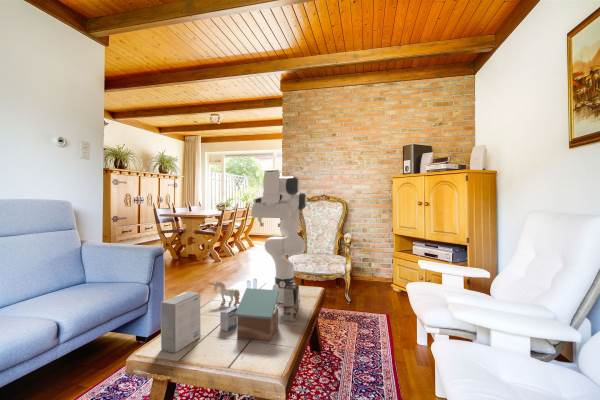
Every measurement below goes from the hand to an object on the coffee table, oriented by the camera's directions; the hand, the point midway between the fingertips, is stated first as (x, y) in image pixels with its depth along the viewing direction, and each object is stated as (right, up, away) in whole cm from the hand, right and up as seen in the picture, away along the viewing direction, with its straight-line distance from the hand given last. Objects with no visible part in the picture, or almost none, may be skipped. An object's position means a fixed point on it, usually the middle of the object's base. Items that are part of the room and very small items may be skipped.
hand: (270, 226), depth 151 cm
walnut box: (-4, -48, -16) cm, 51 cm away
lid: (-4, -34, -17) cm, 38 cm away
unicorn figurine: (-29, -48, +18) cm, 59 cm away
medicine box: (-19, -48, -10) cm, 53 cm away
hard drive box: (-35, -48, -26) cm, 65 cm away
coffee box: (+11, -48, +3) cm, 50 cm away
